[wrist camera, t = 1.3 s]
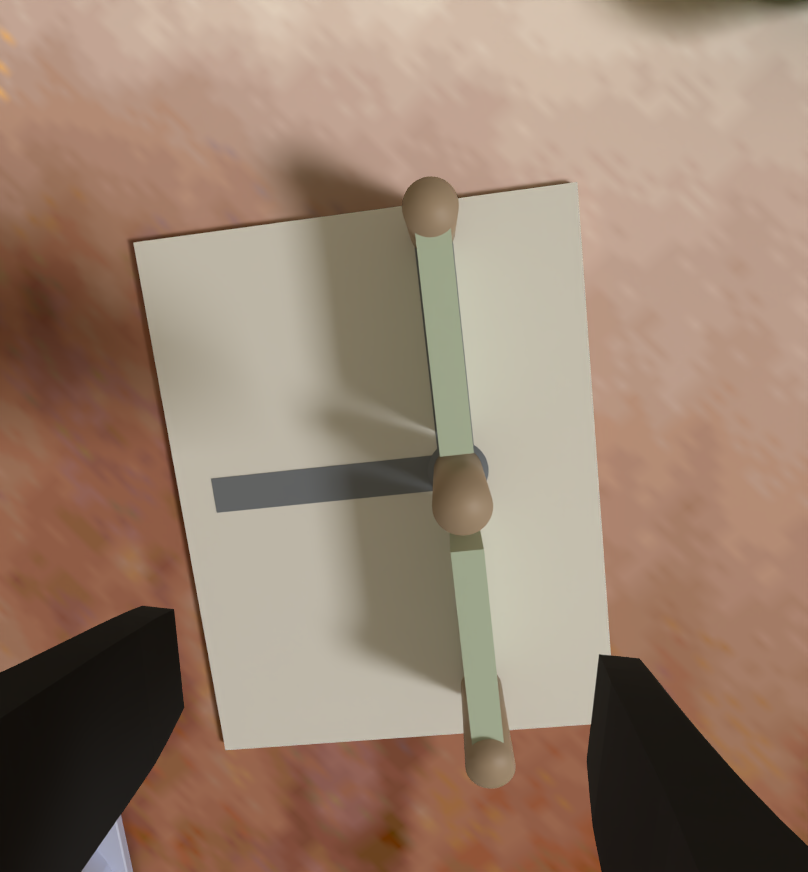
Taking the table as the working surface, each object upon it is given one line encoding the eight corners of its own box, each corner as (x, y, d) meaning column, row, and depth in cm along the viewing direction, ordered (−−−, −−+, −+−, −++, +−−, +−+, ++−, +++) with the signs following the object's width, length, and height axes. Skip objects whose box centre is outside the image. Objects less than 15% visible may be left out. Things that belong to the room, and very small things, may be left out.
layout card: (228, 744, 23) (225, 750, 23) (137, 244, 20) (132, 242, 20) (613, 717, 22) (615, 722, 22) (575, 184, 19) (577, 181, 19)
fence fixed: (436, 496, 21) (435, 538, 16) (404, 211, 19) (394, 179, 15) (484, 491, 20) (495, 532, 16) (455, 205, 19) (460, 170, 15)
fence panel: (462, 706, 22) (468, 789, 18) (441, 512, 20) (441, 555, 17) (503, 703, 22) (517, 786, 18) (483, 508, 20) (493, 550, 16)
